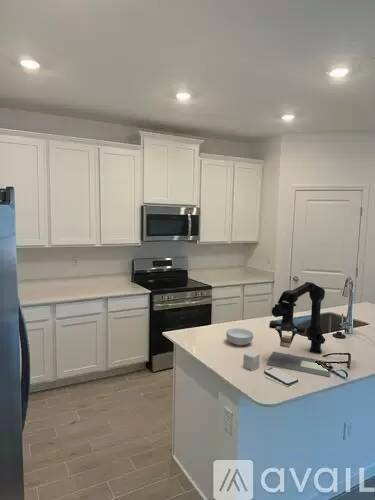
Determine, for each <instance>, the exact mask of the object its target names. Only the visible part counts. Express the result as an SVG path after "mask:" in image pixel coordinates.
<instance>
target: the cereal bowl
mask: <svg viewBox="0 0 375 500" xmlns="http://www.w3.org/2000/svg"><path fill="white" fill-rule="evenodd" d="M225 334H226V339H227V341H228V342H230V343H231V344H234V345H235V344H236V346H245V345H248V344H251V342H252V341H253V339H254V333H253V331H252V330H249V329H245V328H241V327H240V328H238V327H237V328H236V327H235V328H228V329H227V330H226V332H225Z"/></svg>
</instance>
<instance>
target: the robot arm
mask: <svg viewBox="0 0 375 500" xmlns="http://www.w3.org/2000/svg"><path fill="white" fill-rule="evenodd" d="M307 293H309V298H310V300H311V312H310V325H309V326H308V327H307V328H306V326H305V325H303V324H297V325H295V322H294V312H295V311H294V310H295V309H294V308H295V307H296V306H297V304H296V302H297V301H298V300H299V297H302V296H303V295H305V294H307ZM325 294H326V291H325V289H324V287H321V286H318V285H316V284H315V283H314V282H311V281H310V282H309V281H307V282H305V283H304V284H301V285H299V286H298V287H295V288H294V289H289V290H288V289H287V290H284V291H283V292H282V294H281V295H280V297H279V298H278V300H277V303H275V304H274V306H273V307H272V308H271V314H272V316H273V317H275V318H279V317H281V318H282V319H281V321H280V322H281V323H279V321H276V320H271V321H270V323H269V325H268V326H269V329H274V330H275V331H276V332H277V333H278V336H279V340H281V339H282V337H283V332H284V331H285V332H287V333H289V332H291V330H292V332H291V336H292V337H291V344H292V342H293V340H294V337H295V335H296V334H299V333H300V334H306V336H307V341H311V342H310V347H309V352H310V353H316V354H318V355H319V354H320V355H321V354H322V345H324V343H326V338H325V337H324V335H323V329H322V328H321V325H320V324H321V306H322V305H321V304H322V301H323V300H324V299H325ZM305 332H306V333H305Z"/></svg>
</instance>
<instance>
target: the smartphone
mask: <svg viewBox="0 0 375 500" xmlns="http://www.w3.org/2000/svg"><path fill="white" fill-rule="evenodd" d="M263 373H264V375H267V376H268V377H270V378H272V379H274V380H275V381H277V380H278V382H279V383H281V382H282V383H281V384H283V385H284V386H287V387H288V386H291V385H294V384H297V383H299V379H298V378H297V377H295V376H293V375H291V374H289V373H287V372H285V371H283V370H281V369H279V367H275V366H272V367H270V368H268V369H264V370H263Z"/></svg>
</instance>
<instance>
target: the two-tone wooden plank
mask: <svg viewBox="0 0 375 500" xmlns="http://www.w3.org/2000/svg"><path fill="white" fill-rule="evenodd" d="M291 337H292V335H285V334H282V339H280V341H279V347H282V348H288V349H290V347H291V344H292V343H291Z"/></svg>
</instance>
